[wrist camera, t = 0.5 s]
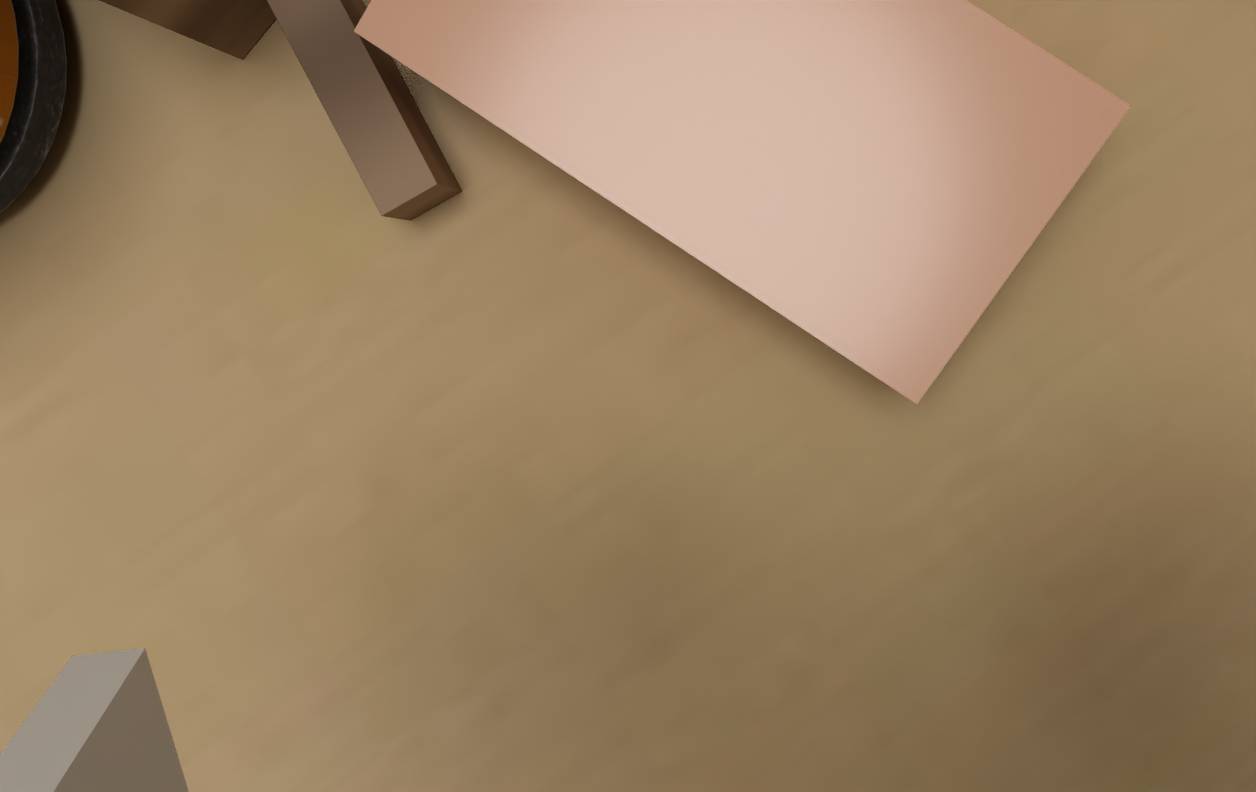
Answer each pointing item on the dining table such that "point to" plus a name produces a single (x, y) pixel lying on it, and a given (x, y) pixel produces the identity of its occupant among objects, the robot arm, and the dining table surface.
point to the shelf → (332, 87)
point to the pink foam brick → (790, 143)
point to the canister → (28, 90)
